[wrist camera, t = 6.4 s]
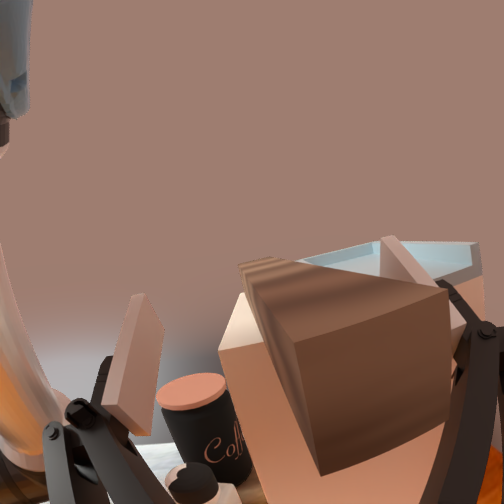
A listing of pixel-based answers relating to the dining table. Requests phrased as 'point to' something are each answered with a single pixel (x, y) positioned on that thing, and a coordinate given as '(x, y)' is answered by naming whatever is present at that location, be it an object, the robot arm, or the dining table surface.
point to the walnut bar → (353, 355)
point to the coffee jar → (206, 425)
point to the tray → (426, 253)
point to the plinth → (292, 441)
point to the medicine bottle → (199, 486)
